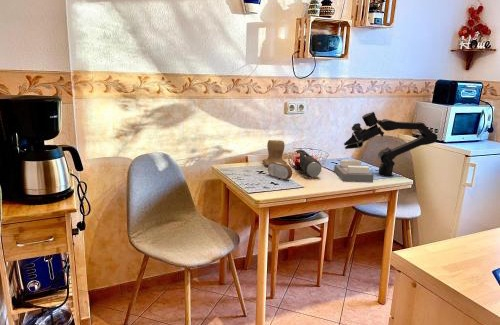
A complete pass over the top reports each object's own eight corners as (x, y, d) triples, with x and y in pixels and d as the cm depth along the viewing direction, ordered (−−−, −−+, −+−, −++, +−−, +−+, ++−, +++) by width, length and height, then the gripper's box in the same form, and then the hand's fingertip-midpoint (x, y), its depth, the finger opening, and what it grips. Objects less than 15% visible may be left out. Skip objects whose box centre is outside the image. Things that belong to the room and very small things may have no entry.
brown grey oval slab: (292, 180, 196) (293, 165, 194) (288, 181, 194) (289, 166, 192) (270, 174, 206) (270, 159, 204) (266, 175, 204) (267, 160, 202)
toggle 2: (366, 171, 203) (367, 166, 202) (368, 173, 200) (369, 167, 199) (346, 171, 202) (347, 165, 201) (348, 172, 199) (348, 167, 198)
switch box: (360, 172, 218) (361, 165, 217) (372, 182, 200) (373, 174, 199) (333, 171, 217) (334, 164, 216) (343, 181, 199) (344, 173, 198)
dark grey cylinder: (306, 165, 228) (308, 149, 225) (321, 179, 201) (323, 161, 198) (291, 165, 226) (292, 148, 224) (304, 179, 200) (306, 160, 197)
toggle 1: (359, 165, 215) (359, 160, 214) (360, 167, 212) (361, 161, 211) (340, 165, 214) (340, 159, 213) (341, 166, 211) (342, 161, 210)
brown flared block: (279, 161, 235) (281, 137, 232) (289, 165, 225) (290, 141, 221) (257, 162, 229) (259, 138, 225) (266, 167, 219) (268, 142, 215)
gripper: (363, 125, 221) (339, 138, 224) (362, 116, 204) (336, 130, 206) (372, 141, 218) (348, 154, 221) (372, 133, 200) (346, 147, 203)
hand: (344, 146), depth 213 cm, fingers open, 9 cm apart
